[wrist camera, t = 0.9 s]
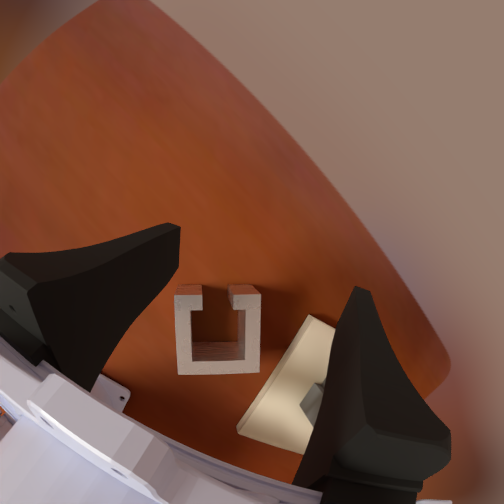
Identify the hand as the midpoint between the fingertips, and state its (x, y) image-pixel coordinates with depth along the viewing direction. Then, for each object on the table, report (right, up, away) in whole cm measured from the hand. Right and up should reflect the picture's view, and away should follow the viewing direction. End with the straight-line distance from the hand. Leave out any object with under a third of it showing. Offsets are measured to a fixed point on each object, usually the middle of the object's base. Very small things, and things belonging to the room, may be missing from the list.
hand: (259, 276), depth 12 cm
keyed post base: (+5, -12, +14) cm, 19 cm away
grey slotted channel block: (-3, -4, +12) cm, 13 cm away
